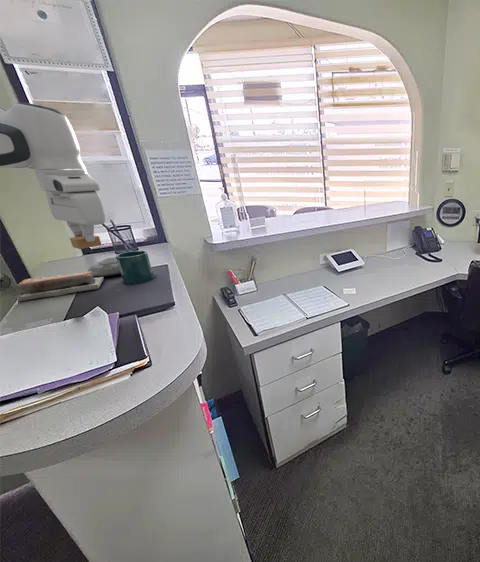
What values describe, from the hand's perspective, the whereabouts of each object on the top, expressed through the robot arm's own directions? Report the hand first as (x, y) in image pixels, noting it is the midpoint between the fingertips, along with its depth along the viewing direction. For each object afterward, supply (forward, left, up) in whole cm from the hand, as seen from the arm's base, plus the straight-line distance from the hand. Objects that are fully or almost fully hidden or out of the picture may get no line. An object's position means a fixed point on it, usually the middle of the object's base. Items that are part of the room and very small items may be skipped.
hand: (85, 240), depth 78 cm
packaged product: (-1, +26, -19) cm, 32 cm away
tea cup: (+15, +16, -19) cm, 29 cm away
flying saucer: (+15, +32, -19) cm, 40 cm away
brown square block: (0, 0, -2) cm, 2 cm away
